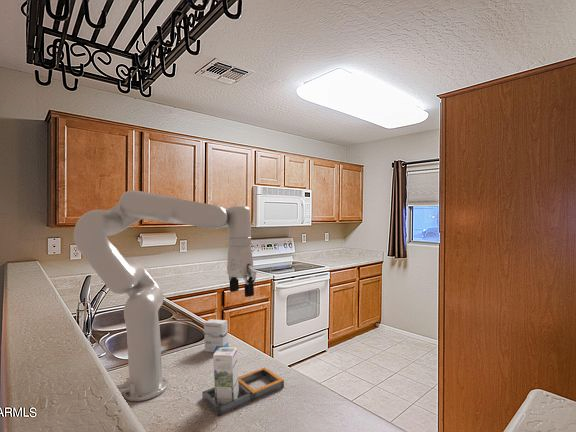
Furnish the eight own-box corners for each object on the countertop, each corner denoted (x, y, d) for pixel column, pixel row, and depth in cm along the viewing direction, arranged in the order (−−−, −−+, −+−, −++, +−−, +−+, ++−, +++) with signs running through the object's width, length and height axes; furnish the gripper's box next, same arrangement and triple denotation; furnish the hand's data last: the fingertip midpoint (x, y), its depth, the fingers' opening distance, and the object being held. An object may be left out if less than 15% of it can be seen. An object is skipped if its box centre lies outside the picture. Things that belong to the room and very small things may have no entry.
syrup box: (239, 394, 96) (237, 346, 96) (234, 405, 90) (231, 354, 90) (221, 394, 96) (219, 346, 96) (214, 405, 90) (212, 354, 90)
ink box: (229, 348, 130) (227, 319, 130) (222, 353, 126) (221, 323, 126) (211, 346, 133) (209, 318, 133) (204, 351, 128) (203, 322, 129)
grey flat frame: (217, 416, 85) (217, 407, 85) (202, 398, 94) (202, 390, 94) (283, 387, 98) (283, 379, 98) (265, 374, 107) (264, 367, 107)
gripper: (218, 242, 111) (219, 291, 111) (243, 244, 98) (245, 300, 97) (236, 241, 116) (238, 288, 116) (263, 243, 102) (265, 296, 102)
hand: (241, 293), depth 107 cm, fingers open, 9 cm apart
